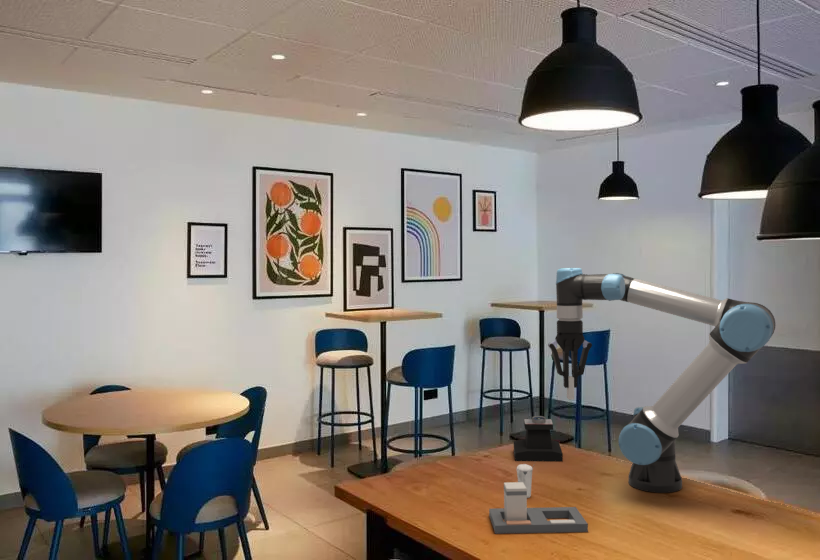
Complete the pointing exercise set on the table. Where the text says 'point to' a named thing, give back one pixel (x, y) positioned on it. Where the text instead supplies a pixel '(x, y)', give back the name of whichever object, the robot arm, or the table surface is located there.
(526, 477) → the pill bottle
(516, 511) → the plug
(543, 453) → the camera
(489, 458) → the table surface
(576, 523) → the socket block
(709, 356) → the robot arm
